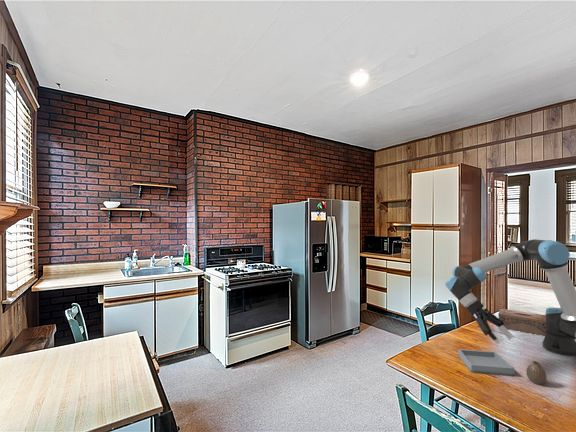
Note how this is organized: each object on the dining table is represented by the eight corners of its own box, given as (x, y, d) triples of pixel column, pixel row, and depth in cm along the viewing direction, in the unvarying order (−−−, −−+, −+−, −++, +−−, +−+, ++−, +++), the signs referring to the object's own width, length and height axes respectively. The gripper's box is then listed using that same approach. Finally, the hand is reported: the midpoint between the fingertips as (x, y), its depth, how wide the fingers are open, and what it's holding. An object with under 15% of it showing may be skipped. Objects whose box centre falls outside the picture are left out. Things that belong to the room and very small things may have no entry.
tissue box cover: (548, 330, 193) (548, 315, 194) (549, 337, 182) (549, 321, 183) (500, 322, 210) (500, 308, 210) (498, 328, 199) (498, 313, 199)
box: (495, 358, 155) (495, 351, 155) (514, 376, 138) (513, 368, 138) (458, 355, 159) (457, 349, 159) (471, 372, 141) (471, 365, 141)
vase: (542, 379, 134) (541, 360, 135) (550, 387, 128) (549, 367, 128) (524, 377, 137) (523, 358, 137) (530, 385, 130) (530, 365, 130)
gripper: (475, 303, 163) (509, 339, 151) (455, 312, 147) (491, 353, 135) (486, 295, 159) (521, 331, 147) (467, 304, 143) (504, 345, 131)
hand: (507, 342), depth 141 cm, fingers open, 13 cm apart
